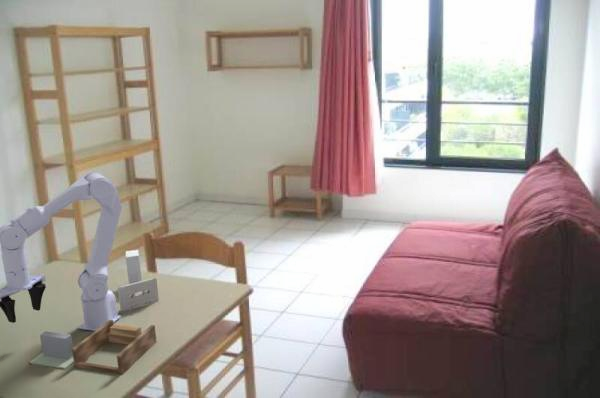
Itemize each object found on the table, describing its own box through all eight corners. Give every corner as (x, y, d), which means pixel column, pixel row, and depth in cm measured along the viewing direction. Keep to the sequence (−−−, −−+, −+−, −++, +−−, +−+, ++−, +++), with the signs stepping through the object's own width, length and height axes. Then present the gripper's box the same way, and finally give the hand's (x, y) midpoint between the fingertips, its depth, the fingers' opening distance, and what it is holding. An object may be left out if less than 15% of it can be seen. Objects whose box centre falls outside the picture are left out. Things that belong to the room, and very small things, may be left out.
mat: (53, 345, 158) (53, 344, 158) (88, 350, 155) (88, 349, 154) (29, 363, 150) (29, 362, 149) (65, 369, 146) (65, 367, 146)
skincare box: (129, 284, 196) (125, 251, 193) (142, 282, 197) (138, 249, 194) (129, 291, 190) (125, 257, 187) (143, 289, 192) (139, 255, 188)
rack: (112, 336, 162) (109, 319, 161) (156, 342, 158) (154, 325, 156) (74, 366, 147) (71, 349, 146) (122, 374, 143) (120, 356, 142)
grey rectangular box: (48, 351, 154) (45, 331, 152) (74, 355, 152) (70, 334, 150) (43, 355, 152) (39, 335, 151) (69, 359, 150) (65, 338, 148)
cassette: (157, 299, 184) (155, 276, 182) (159, 301, 183) (157, 278, 181) (119, 310, 178) (116, 286, 176) (121, 312, 176) (118, 288, 174)
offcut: (114, 337, 161) (112, 323, 160) (143, 341, 159) (141, 326, 158) (109, 342, 159) (107, 327, 158) (138, 346, 157) (136, 331, 155)
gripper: (1, 281, 146) (10, 330, 149) (49, 261, 158) (57, 307, 162) (-17, 276, 149) (-8, 325, 152) (32, 257, 161) (39, 302, 165)
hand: (24, 315), depth 157 cm, fingers open, 7 cm apart
